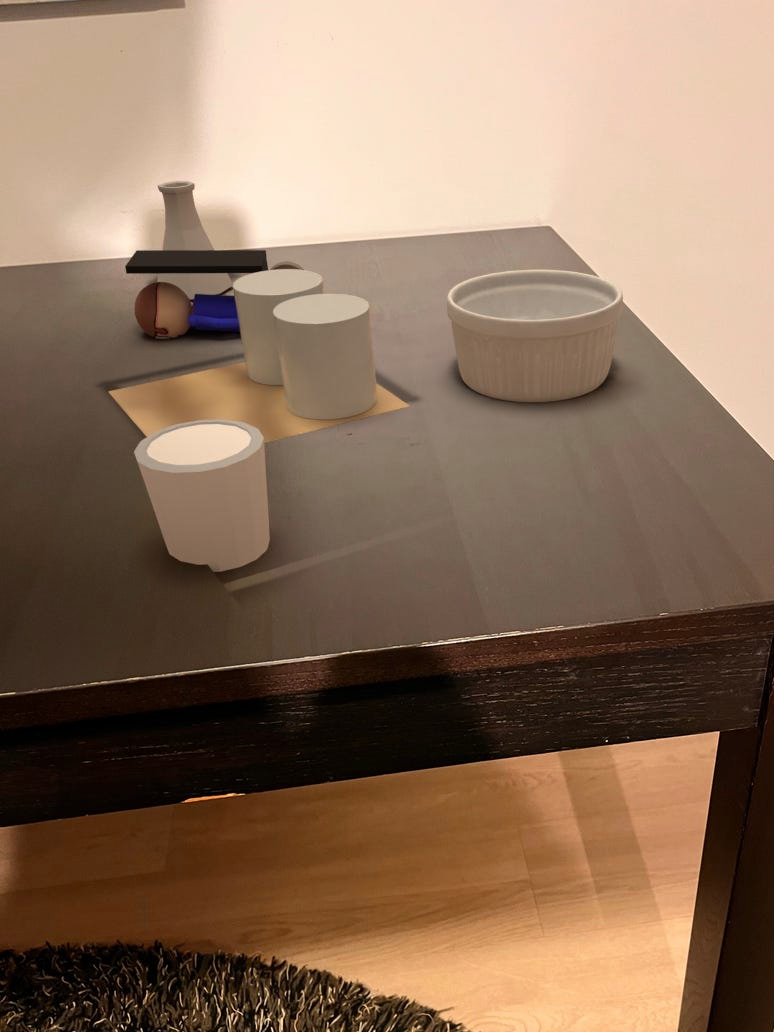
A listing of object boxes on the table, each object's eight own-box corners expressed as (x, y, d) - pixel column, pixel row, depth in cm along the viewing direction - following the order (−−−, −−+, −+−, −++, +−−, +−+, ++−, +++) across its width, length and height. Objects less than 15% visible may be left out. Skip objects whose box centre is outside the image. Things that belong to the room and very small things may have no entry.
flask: (143, 294, 101) (120, 187, 95) (197, 276, 106) (179, 173, 100) (192, 306, 98) (172, 195, 92) (246, 287, 102) (230, 180, 97)
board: (173, 474, 67) (171, 466, 67) (109, 398, 79) (107, 391, 78) (410, 413, 75) (410, 405, 74) (321, 352, 86) (320, 345, 86)
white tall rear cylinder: (266, 392, 77) (252, 300, 73) (234, 366, 82) (219, 278, 78) (346, 374, 80) (337, 284, 76) (311, 349, 85) (301, 264, 81)
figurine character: (309, 332, 95) (142, 325, 92) (309, 248, 90) (134, 238, 88) (309, 357, 89) (132, 350, 87) (309, 269, 85) (122, 259, 82)
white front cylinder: (308, 427, 72) (295, 329, 68) (272, 397, 76) (258, 304, 72) (393, 406, 74) (386, 311, 70) (353, 378, 79) (344, 287, 75)
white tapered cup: (256, 590, 55) (235, 474, 51) (139, 581, 56) (110, 466, 52) (296, 529, 61) (280, 420, 57) (189, 522, 62) (166, 414, 58)
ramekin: (436, 360, 84) (432, 274, 80) (589, 346, 86) (593, 261, 82) (468, 423, 73) (465, 327, 69) (641, 404, 75) (648, 311, 71)
